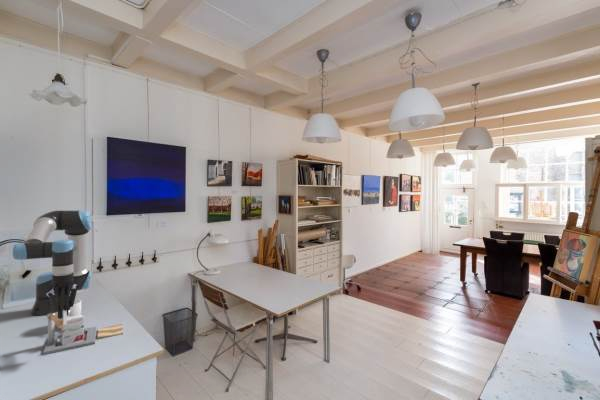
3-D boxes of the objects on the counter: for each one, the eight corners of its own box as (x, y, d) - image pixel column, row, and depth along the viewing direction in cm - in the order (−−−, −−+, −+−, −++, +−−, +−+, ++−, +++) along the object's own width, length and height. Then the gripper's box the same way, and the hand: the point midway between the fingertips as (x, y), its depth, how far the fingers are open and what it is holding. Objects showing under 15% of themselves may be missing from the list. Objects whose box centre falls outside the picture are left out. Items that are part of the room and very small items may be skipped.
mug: (79, 330, 152) (79, 306, 152) (52, 335, 146) (52, 310, 146) (81, 319, 164) (82, 297, 164) (57, 323, 158) (57, 300, 158)
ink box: (81, 335, 147) (81, 313, 147) (83, 339, 144) (84, 316, 144) (59, 342, 140) (60, 318, 140) (62, 345, 137) (62, 321, 137)
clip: (54, 314, 139) (55, 311, 139) (65, 326, 128) (65, 323, 128) (46, 316, 137) (46, 313, 137) (56, 329, 126) (56, 326, 125)
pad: (97, 330, 153) (97, 328, 153) (121, 325, 160) (121, 324, 160) (97, 339, 144) (97, 337, 144) (122, 334, 151) (122, 332, 151)
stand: (49, 337, 144) (50, 310, 144) (95, 328, 155) (96, 303, 155) (43, 354, 129) (44, 325, 129) (94, 343, 140) (95, 316, 140)
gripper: (72, 269, 138) (72, 317, 138) (41, 276, 125) (41, 329, 126) (83, 271, 135) (83, 319, 136) (52, 278, 123) (52, 332, 124)
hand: (63, 324), depth 131 cm, fingers closed
